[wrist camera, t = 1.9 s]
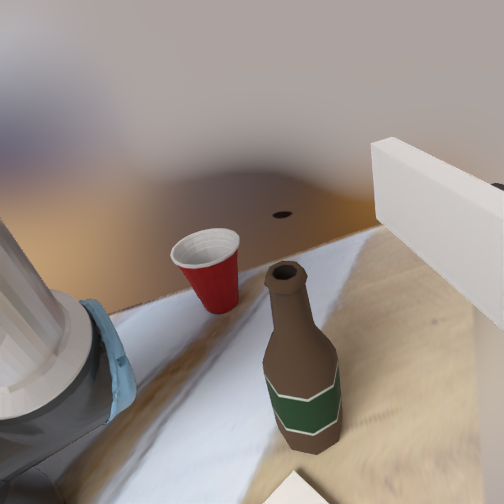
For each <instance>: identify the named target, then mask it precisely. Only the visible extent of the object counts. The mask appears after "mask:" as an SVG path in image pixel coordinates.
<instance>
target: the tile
mask: <svg viewBox="0 0 504 504" xmlns="http://www.w3.org/2000/svg"><path fill="white" fill-rule="evenodd" d="M263 504H329V503H328V502H327V501H326V500H325V499H323V498H322V497H321V496H320V495H319V494H318V493H317V492H316V491H315V490H314V489H313V488H312V487H311V486H310V485H309V484H308V483H307V482H306V481H304V480H303V479H302V478H301V477H300V476H299V475H298V474H297V473H296V472H295V471H294V470H293V472H292V473H291V474H290V475H289V476H288V477H287V478H286V479H285V480H284V481H283V483H282V484H281V485H280V486H279V487H278V488H277V489H276V490H275V491H274V492H273V493H272V495H271V496H270V497H269V498H268V499H267V500H266V501H265V502H264V503H263Z"/></svg>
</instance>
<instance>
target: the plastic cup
mask: <svg viewBox="0 0 504 504" xmlns="http://www.w3.org/2000/svg"><path fill="white" fill-rule="evenodd" d="M238 247H239V236H238V235H237V234H236V232H234V231H232V230H228V229H223V228H213V229H207V230H202V231H199V232H196V233H193V234H191V235H189V236H187V237H185V238H184V239H182V240H180V241H179V242H178V243H177V244H176V245H175V246H174V247H173V248H172V251H171V255H170V256H171V258H172V260H173V262H174V263H175V264H177V265H178V266H179V267H180V269H181V270H182V271H183V273H184V275H186V277H187V279H188V280H189V282H190V284H191V286H192V287H193V289H194V291H195V292H196V294H197V296H198V298H200V300H201V301H202V303H203V305H204V307H205V308H206V309H207V310H208V311H209V312H211V313H214V314H221V313H226V312H228V311H230V310H232V309H233V308H234V307H235V306H236V304H237V303H238V270H237V269H238V268H237V249H238Z"/></svg>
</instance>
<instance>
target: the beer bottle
mask: <svg viewBox="0 0 504 504" xmlns="http://www.w3.org/2000/svg"><path fill="white" fill-rule="evenodd" d="M307 277H308V276H307V274H306V272H305V270H304V268H302V267H301V266H300V265H299V264H298V263H297V262H293V261H281V262H279V263H276V264H274V265H272V266H270V267H269V270H268V272H267V274H266V277H265V285H266V286H267V287H268V289H269V292H270V300H271V308H272V317H273V325H274V331H273V332H272V335H271V337H270V340H269V343H268V346H267V348H266V351H265V355H264V359H263V369H264V375H265V379H266V383H267V387H268V391H269V395H270V399H271V403H272V407H273V411H274V415H275V419H276V422H277V425H278V428H279V430H280V431H281V433H282V435H283V436H284V438H285V439H286V441H287V443H288V444H289V446H290V447H291V449H293V450H297V451H301V452H306V453H310V454H315V455H318V454H319V453H321V452H322V451H324V450H326V449H327V448H329V447H330V446H332V445H334V444H335V443H337V442H338V441H339V435H340V428H341V422H342V401H341V389H340V378H339V366H338V358H337V353H336V349H335V348H334V346H333V345H332V343H331V342H330V340H329V339H328V338H327V337H326V336H325V335H324V334H323V333H322V332H321V331H320V329H319V328H318V327H317V326H316V325H315V323H314V321H313V317H312V312H311V308H310V303H309V298H308V294H307V289H306V285H305V283H306V280H307Z"/></svg>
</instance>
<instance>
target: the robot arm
mask: <svg viewBox="0 0 504 504" xmlns="http://www.w3.org/2000/svg"><path fill="white" fill-rule="evenodd" d="M371 155H372V169H373V181H374V194H375V208H376V219H377V220H378V221H380V222H381V223H382V224H383V225H384V226H385V227H386V228H387V229H389V230H390V231H391V232H392V233H393V234H394V235H395V236H396V237H398V238H399V239H400V240H401V241H402V242H403V243H404V244H405V245H407V246H408V247H409V248H410V249H411V250H412V251H413V252H415V253H416V254H417V255H418V256H419V257H420V258H421V259H422V260H424V261H425V262H426V263H427V264H428V265H429V266H430V267H431V268H433V269H434V270H435V271H436V272H437V273H438V274H439V275H440V276H442V277H443V278H444V279H445V280H446V281H447V282H448V283H450V284H451V285H452V286H453V287H454V288H455V289H456V290H457V291H459V292H460V293H461V294H462V295H463V296H464V297H465V298H466V299H468V300H469V301H470V302H471V303H472V304H473V305H474V306H475V307H477V308H478V309H479V310H480V311H481V312H483V314H484V315H486V316H487V317H488V318H489V319H490V320H491V321H492V322H494V323H495V324H496V325H497V326H498V327H499V328H500V329H501V330H503V331H504V185H503V184H498V183H494V184H488V183H486V182H484V181H482V180H480V179H478V178H476V177H474V176H472V175H470V174H468V173H466V172H464V171H462V170H460V169H458V168H456V167H454V166H451V165H449V164H447V163H445V162H443V161H441V160H439V159H437V158H435V157H433V156H431V155H429V154H427V153H425V152H423V151H421V150H419V149H417V148H415V147H413V146H411V145H409V144H407V143H405V142H403V141H400V140H399V139H396V138H395V137H390V138H387V139H384V140H380V141H377V142H374V143H371ZM136 393H137V386H136V381H135V377H134V374H133V371H132V368H131V365H130V363H129V360H128V359H127V357H126V355H125V351H124V348H123V345H122V343H121V340H120V338H119V336H118V334H117V332H116V330H115V328H114V326H113V324H112V322H111V320H110V318H109V316H108V314H107V313H106V311H105V309H104V308H103V306H102V305H101V304H100V303H99V302H98V301H97V300H95V299H87V300H85V301H83V300H80V301H77V300H76V299H75V298H74V297H72V296H70V295H69V294H66V293H64V292H60V291H57V290H52V289H49V288H48V287H47V286H46V284H45V283H44V281H43V280H42V278H41V277H40V275H39V274H38V272H37V271H36V269H35V268H34V266H33V265H32V263H31V262H30V261H29V259H28V258H27V256H26V255H25V253H24V252H23V250H22V249H21V247H20V246H19V245H18V243H17V242H16V240H15V238H14V237H13V235H12V234H11V233H10V231H9V230H8V228H7V227H6V225H5V224H4V222H3V221H2V219H1V218H0V504H64V499H63V496H62V494H61V491H60V490H59V488H58V487H57V485H56V484H55V483H54V482H53V481H52V480H51V479H50V478H49V477H48V476H47V475H46V474H45V473H43V472H41V471H40V470H38V469H36V468H33V467H34V466H35V465H37V464H39V463H40V462H42V461H43V460H45V459H47V458H48V457H50V456H52V455H53V454H55V453H56V452H58V451H60V450H61V449H63V448H64V447H66V446H68V445H69V444H71V443H73V442H74V441H76V440H77V439H79V438H81V437H82V436H84V435H86V434H87V433H89V432H90V431H92V430H94V429H95V428H97V427H99V426H100V425H104V424H107V423H109V422H110V421H111V420H112V419H113V418H114V417H115V415H117V414H118V413H120V412H121V411H123V410H124V409H126V408H127V407H129V406H130V405H131V404H132V403H133V401H134V399H135V397H136Z"/></svg>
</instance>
